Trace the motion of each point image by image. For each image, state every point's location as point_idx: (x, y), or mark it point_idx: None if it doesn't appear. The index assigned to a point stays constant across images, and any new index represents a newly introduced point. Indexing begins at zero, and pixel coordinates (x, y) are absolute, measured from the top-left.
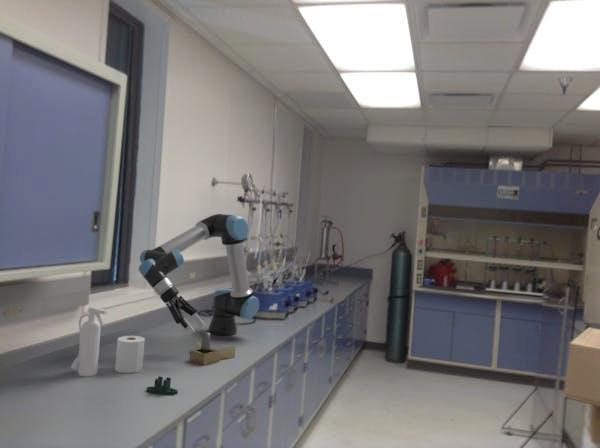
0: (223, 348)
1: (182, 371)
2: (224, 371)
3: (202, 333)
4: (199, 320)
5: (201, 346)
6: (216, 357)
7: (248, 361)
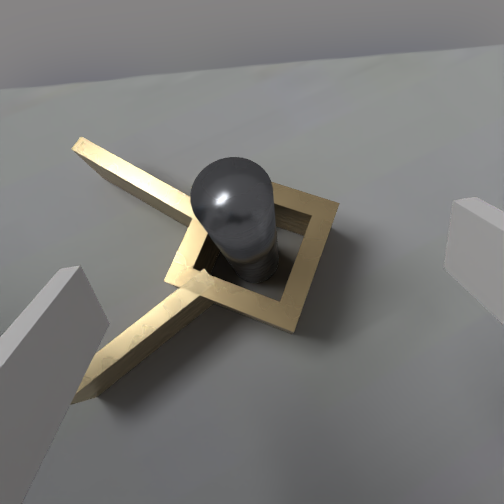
0: (144, 175)
1: None
2: (354, 109)
3: (264, 218)
4: (51, 331)
5: (269, 252)
6: None
7: (149, 92)
